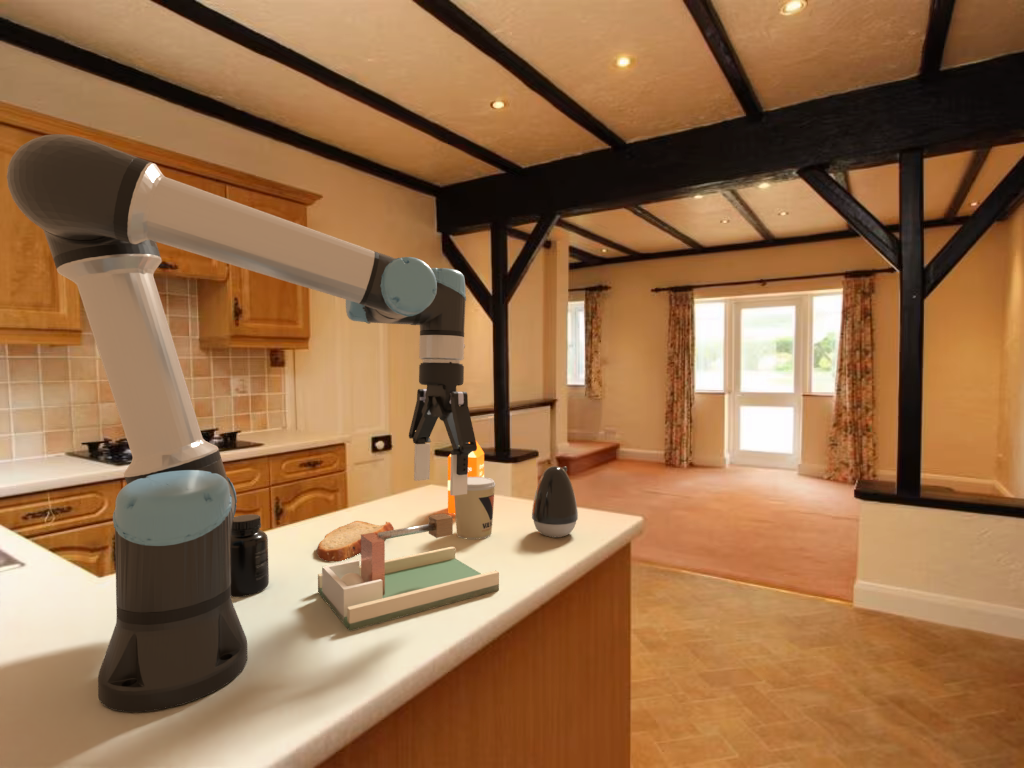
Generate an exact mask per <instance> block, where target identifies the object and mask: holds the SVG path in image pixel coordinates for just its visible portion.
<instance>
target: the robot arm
mask: <svg viewBox="0 0 1024 768" xmlns="http://www.w3.org/2000/svg"><path fill="white" fill-rule="evenodd" d="M6 171H7V172H6V180H7V182H6V183H7V188H8V191H9V193H10V195H11V197H12V200H13V202H14V203H15V205H16V207H17V208H18V210H20V211H21V213H22V214H23V215H24V216H25V217H26V218H28V220H29V221H31V222H32V223H33V224H34V225H36V226H38V227H39V228H40V229H42V230H43V233H44V236H45V238H46V241H47V244H48V247H49V250H50V253H51V256H52V259H53V263H54V266H55V268H56V271H57V273H58V274H59V275H61V277H64V278H66V279H68V280H70V281H71V282H73V283H74V284H75V285H76V286H77V290H78V292H79V293H78V294H79V295H80V298H81V302H82V305H83V307H84V312H85V314H86V318H87V320H88V324H89V327H90V329H91V332H92V336H93V339H94V341H95V342H94V343H95V346H96V347H97V351H98V354H99V357H100V360H101V364H102V367H103V370H104V373H105V376H106V380H107V382H108V384H109V385H108V386H109V388H110V392H111V394H112V398H113V400H114V405H115V407H116V411H117V413H118V416H119V420H120V423H121V426H122V429H123V431H124V435H125V438H126V440H127V441H126V442H127V444H128V447H129V450H130V452H131V457H132V459H131V463H129V465H128V467H127V469H126V470H125V471H124V472H123V477H124V479H125V482H126V485H125V486H123V487H122V488H121V489H120V490H119V491H118V493H117V496H116V498H115V507H114V508H115V509H114V511H113V512H112V522H113V528H114V543H115V544H114V546H115V547H114V548H115V549H114V550H115V555H114V556H115V593H116V594H115V598H116V599H115V601H116V602H115V603H116V622H115V626H114V629H113V631H112V635H111V636H110V637H111V638H110V639H109V643H108V645H107V648H106V651H105V653H104V656H103V660H102V663H101V666H100V669H99V671H98V677H97V691H98V692H97V695H98V696H97V697H98V699H99V702H100V703H101V704H102V705H103V706H105V707H106V708H108V709H111V710H115V711H119V712H127V713H131V712H133V713H140V712H142V713H143V712H152V711H153V712H154V711H158V710H164V709H168V708H173V707H177V706H181V705H183V704H186V703H189V702H192V701H196V700H199V699H200V698H202V697H205V696H207V695H210V694H212V693H214V692H215V691H218V690H219V689H221V688H223V687H225V686H226V685H227V684H229V683H230V682H231V681H233V680H234V679H235V678H236V677H237V676H239V675H240V674H241V672H242V671H243V670H244V668H245V667H246V665H247V663H248V662H247V661H248V639H247V636H246V633H245V631H244V629H243V625H242V624H241V621H240V618H239V616H238V614H237V611H236V608H235V606H234V603H233V601H232V596H231V529H232V522H233V518H234V517H235V515H236V511H237V503H238V500H237V492H236V489H235V486H234V484H233V482H232V481H231V479H230V477H228V475H227V473H226V469H225V465H224V463H223V460H222V457H221V453H220V449H219V447H218V446H217V445H215V444H213V443H211V442H208V441H206V440H205V439H204V437H203V435H202V432H201V428H200V425H199V422H198V421H199V420H198V417H197V415H196V414H197V413H196V412H195V409H194V406H193V405H194V404H193V401H192V398H191V396H190V392H189V388H188V386H187V382H186V379H185V376H184V372H183V369H182V366H181V363H180V360H179V356H178V353H177V349H176V345H175V343H174V342H175V341H174V340H173V336H172V332H171V330H170V329H171V328H170V327H169V322H168V320H167V316H166V313H165V310H164V306H163V303H162V300H161V297H160V293H159V290H158V287H157V283H156V280H155V278H154V274H155V272H156V271H157V269H158V267H159V266H160V265H161V264H162V262H163V260H162V257H161V253H160V250H159V247H158V244H157V243H159V244H162V245H165V246H169V247H173V248H176V249H178V250H182V251H186V252H189V253H192V254H196V255H198V256H201V257H205V258H208V259H211V260H214V261H218V262H222V263H224V264H228V265H231V266H235V267H237V268H241V269H243V270H244V269H245V270H248V271H250V272H254V273H257V274H261V275H264V276H268V277H271V278H274V279H277V280H281V281H282V282H283V281H284V282H287V283H290V284H293V285H297V286H301V287H304V288H306V289H310V290H314V291H317V292H320V293H323V294H326V295H330V296H334V297H336V298H340V299H343V300H345V312H346V316H347V318H348V319H349V320H350V321H353V322H358V323H360V322H361V323H366V324H389V325H390V324H391V325H409V326H410V325H411V326H419V342H418V343H419V344H418V346H419V348H418V359H420V360H422V362H420V364H419V365H418V366H419V367H418V370H419V371H418V383H419V384H420V385H424V386H426V388H417V393H416V402H415V403H416V404H415V407H414V410H413V411H414V412H413V415H412V420H411V423H410V428H409V432H408V438H409V439H412V443H413V444H414V462H413V463H414V465H413V467H414V468H413V480H414V482H417V481H428V480H430V479H431V477H430V474H431V473H430V472H431V468H430V467H431V442H432V441H431V438H430V437H431V435H432V433H433V429H434V428H435V425H436V424H437V421H438V419H439V420H440V421H442V422H443V425H444V427H445V429H446V434H447V435H448V439H449V442H450V444H451V447H452V450H451V451H450V454H451V475H450V495H452V496H455V495H463V494H467V479H468V455H469V454H470V453H471V452H472V451H476V450H477V444H476V441H477V440H476V436H475V431H474V428H473V422H472V418H471V413H470V409H469V402H468V400H469V399H468V396H469V395H468V393H467V391H458V390H457V386H458V387H459V386H463V384H464V377H465V376H464V373H465V366H464V365H463V363H461V361H464V359H465V356H464V354H465V347H466V345H465V324H466V323H465V322H466V321H465V319H466V301H467V296H466V290H467V289H466V280H465V275H464V274H463V273H462V272H461V271H459V270H458V269H453V268H447V267H441V268H438V267H430V266H429V264H427V263H426V262H425V261H424V260H422V259H419V258H417V257H412V256H404V257H403V256H402V257H398V258H395V257H393V256H390V255H387V254H384V253H382V252H378V251H375V250H372V249H369V248H366V247H364V246H361V245H358V244H355V243H352V242H350V241H346V240H344V239H341V238H338V237H335V236H333V235H330V234H327V233H324V232H322V231H319V230H315V229H312V228H310V227H307V226H304V225H301V224H299V223H296V222H293V221H291V220H288V219H285V218H282V217H279V216H277V215H274V214H271V213H269V212H266V211H263V210H259V209H257V208H253V207H251V206H248V205H246V204H243V203H240V202H237V201H236V200H231V199H229V198H226V197H223V196H220V195H218V194H215V193H211V192H209V191H205V190H203V189H201V188H198V187H195V186H194V185H193V186H192V185H189V184H187V183H183V182H181V181H178V180H175V179H172V178H170V177H166V176H165V175H164V174H163V173H162V171H161V170H160V168H159V166H158V165H157V164H156V163H153V162H152V161H149V160H146V159H143V158H141V157H138V156H135V155H132V154H130V153H127V152H124V151H122V150H119V149H116V148H114V147H111V146H109V145H106V144H102V143H100V142H96V141H94V140H92V139H88V138H85V137H81V136H77V135H72V134H64V133H63V134H60V133H59V134H58V133H57V134H55V133H54V134H44V135H41V136H39V137H36V138H33V139H31V140H29V141H27V142H25V143H24V144H22V145H21V146H20V147H19V148H17V150H16V151H15V152H14V154H13V155H12V156H11V158H10V160H9V164H8V166H7V170H6ZM469 443H470V444H469ZM450 454H449V455H450Z"/></svg>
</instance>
